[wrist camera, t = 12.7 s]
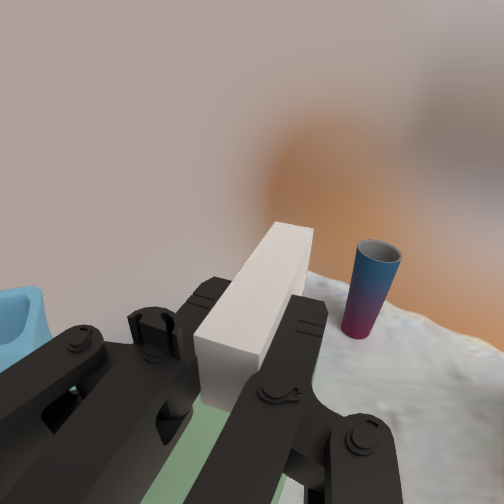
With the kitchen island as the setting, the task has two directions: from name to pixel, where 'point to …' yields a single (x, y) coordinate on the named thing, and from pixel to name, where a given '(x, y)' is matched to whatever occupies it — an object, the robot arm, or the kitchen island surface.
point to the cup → (369, 285)
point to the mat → (192, 456)
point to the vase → (21, 324)
